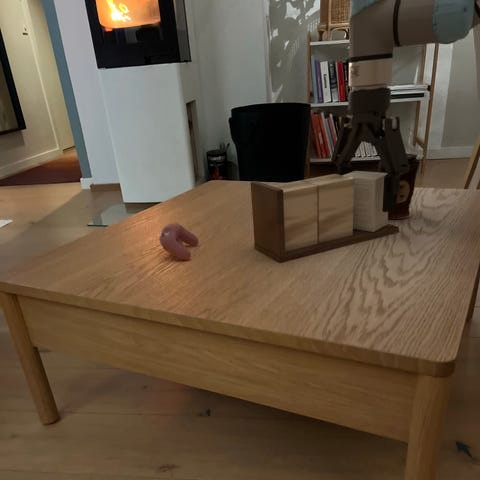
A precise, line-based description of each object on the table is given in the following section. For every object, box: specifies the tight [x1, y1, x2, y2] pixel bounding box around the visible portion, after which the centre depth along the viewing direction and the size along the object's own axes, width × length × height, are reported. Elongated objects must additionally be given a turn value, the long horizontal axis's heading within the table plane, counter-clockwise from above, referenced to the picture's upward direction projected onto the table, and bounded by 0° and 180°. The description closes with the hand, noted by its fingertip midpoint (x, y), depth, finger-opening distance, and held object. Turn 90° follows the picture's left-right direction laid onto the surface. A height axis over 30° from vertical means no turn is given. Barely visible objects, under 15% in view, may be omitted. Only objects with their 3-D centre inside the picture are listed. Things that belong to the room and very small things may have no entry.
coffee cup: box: [377, 153, 421, 220], centre depth 103 cm, size 9×8×13 cm
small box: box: [342, 170, 389, 232], centre depth 96 cm, size 8×6×10 cm
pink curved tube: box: [158, 221, 199, 261], centre depth 94 cm, size 10×5×7 cm, turn 174°
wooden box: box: [250, 173, 400, 263], centre depth 92 cm, size 10×28×13 cm, turn 116°
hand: (365, 204), depth 96 cm, fingers open, 13 cm apart
